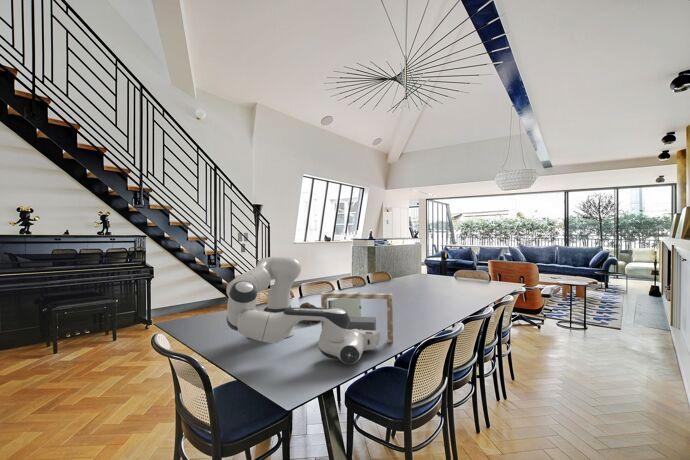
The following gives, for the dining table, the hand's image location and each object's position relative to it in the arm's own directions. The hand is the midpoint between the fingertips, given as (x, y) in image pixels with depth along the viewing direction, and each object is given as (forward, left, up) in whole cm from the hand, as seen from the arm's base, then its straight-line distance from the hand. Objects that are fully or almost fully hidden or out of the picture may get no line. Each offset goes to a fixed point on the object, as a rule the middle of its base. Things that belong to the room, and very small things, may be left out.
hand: (359, 330), depth 143 cm
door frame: (0, +1, -5) cm, 5 cm away
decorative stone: (-31, +31, -6) cm, 44 cm away
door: (-9, +13, -5) cm, 17 cm away
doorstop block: (-1, +6, -5) cm, 8 cm away
